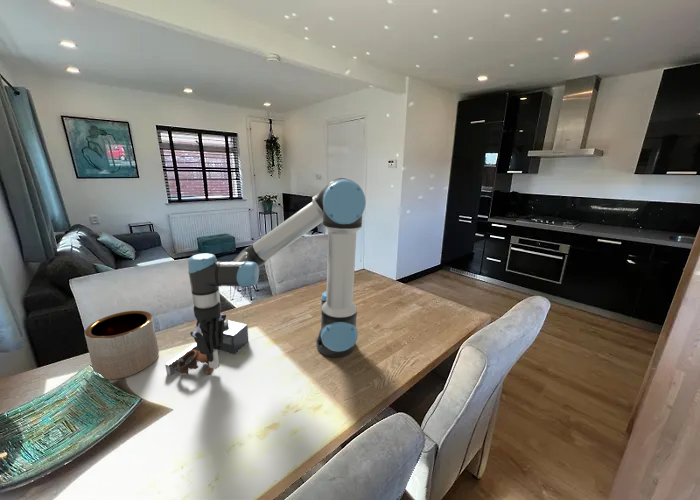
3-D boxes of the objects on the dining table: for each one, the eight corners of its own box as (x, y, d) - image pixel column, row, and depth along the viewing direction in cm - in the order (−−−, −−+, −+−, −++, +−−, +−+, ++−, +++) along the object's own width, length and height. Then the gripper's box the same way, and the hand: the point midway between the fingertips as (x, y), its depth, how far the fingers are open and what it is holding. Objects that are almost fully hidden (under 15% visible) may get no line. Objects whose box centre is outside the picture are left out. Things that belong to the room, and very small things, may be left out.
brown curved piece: (207, 382, 90) (190, 367, 87) (185, 388, 93) (167, 373, 89) (223, 351, 101) (208, 336, 97) (203, 357, 103) (188, 343, 99)
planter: (106, 353, 101) (96, 314, 97) (163, 343, 108) (157, 306, 104) (84, 387, 86) (72, 343, 81) (153, 373, 92) (145, 332, 88)
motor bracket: (248, 342, 111) (247, 319, 108) (201, 384, 88) (197, 358, 86) (219, 335, 114) (216, 313, 112) (166, 374, 92) (162, 348, 89)
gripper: (212, 292, 94) (218, 352, 100) (179, 310, 82) (189, 377, 88) (231, 296, 92) (236, 357, 98) (200, 315, 80) (208, 383, 86)
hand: (214, 366), depth 93 cm, fingers closed
